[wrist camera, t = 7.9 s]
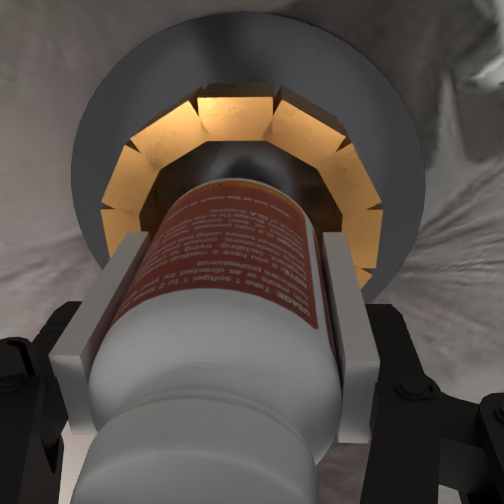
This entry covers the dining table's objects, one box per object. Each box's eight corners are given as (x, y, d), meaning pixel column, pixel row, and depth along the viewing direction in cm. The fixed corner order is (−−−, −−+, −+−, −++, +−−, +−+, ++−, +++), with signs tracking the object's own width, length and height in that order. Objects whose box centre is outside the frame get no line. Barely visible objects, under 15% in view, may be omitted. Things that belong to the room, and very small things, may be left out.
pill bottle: (127, 226, 18) (-52, 496, 8) (260, 139, 16) (228, 358, 6) (221, 334, 20) (167, 643, 11) (347, 269, 18) (421, 575, 9)
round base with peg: (38, 16, 18) (-443, 62, 6) (452, 7, 17) (854, 38, 5) (119, 384, 28) (-6, 688, 16) (389, 391, 27) (478, 719, 15)
